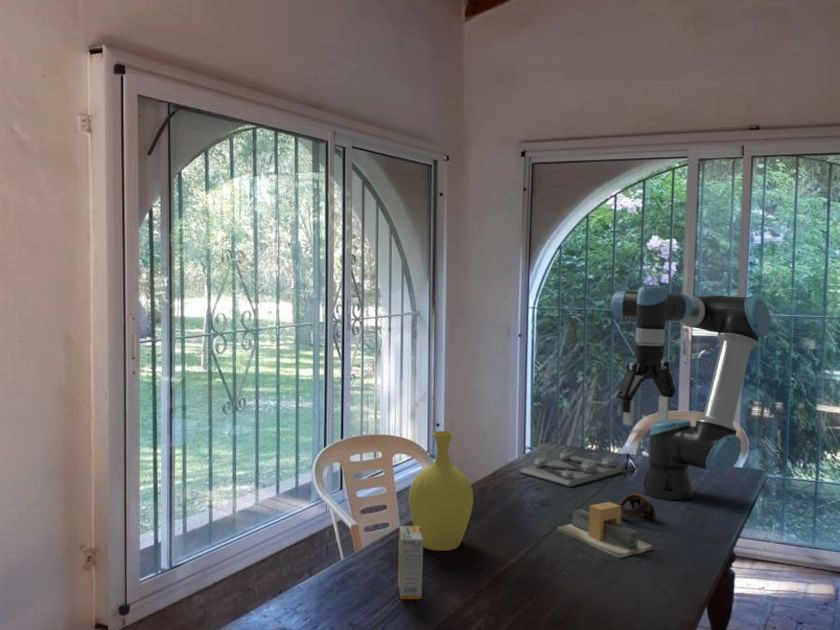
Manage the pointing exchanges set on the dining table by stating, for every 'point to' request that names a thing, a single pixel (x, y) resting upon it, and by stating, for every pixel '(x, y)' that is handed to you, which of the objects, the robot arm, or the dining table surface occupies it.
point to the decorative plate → (571, 470)
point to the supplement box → (410, 562)
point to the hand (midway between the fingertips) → (645, 422)
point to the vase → (441, 500)
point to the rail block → (606, 536)
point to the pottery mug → (637, 507)
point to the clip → (602, 518)
